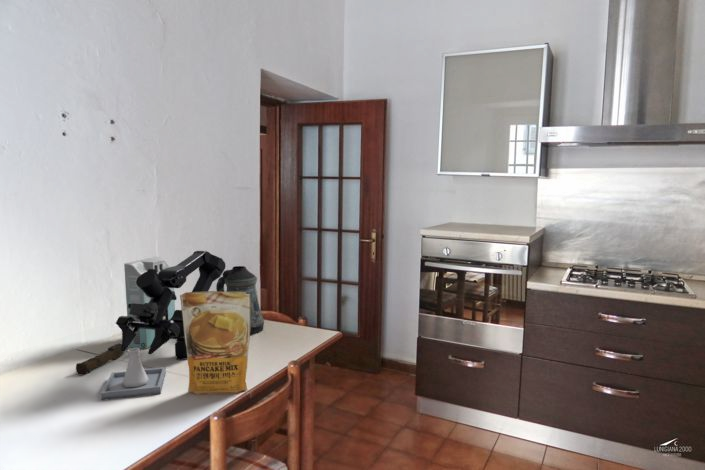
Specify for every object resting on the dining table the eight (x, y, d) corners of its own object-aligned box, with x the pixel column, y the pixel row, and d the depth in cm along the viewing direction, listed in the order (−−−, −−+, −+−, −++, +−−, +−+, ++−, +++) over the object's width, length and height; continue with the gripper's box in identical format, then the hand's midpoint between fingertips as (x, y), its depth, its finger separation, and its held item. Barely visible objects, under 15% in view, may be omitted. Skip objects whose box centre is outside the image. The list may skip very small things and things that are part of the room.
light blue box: (146, 349, 176) (142, 264, 173) (128, 347, 178) (123, 263, 175) (176, 335, 191) (173, 257, 188) (159, 333, 194) (155, 256, 190)
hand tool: (86, 376, 153) (85, 361, 152) (75, 375, 154) (74, 360, 153) (130, 355, 171) (129, 342, 170) (120, 354, 172) (119, 341, 171)
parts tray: (165, 373, 154) (165, 367, 153) (160, 393, 139) (160, 386, 139) (112, 379, 150) (111, 372, 150) (101, 400, 135) (100, 393, 135)
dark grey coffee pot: (259, 336, 189) (257, 271, 186) (208, 336, 189) (205, 271, 187) (267, 324, 206) (266, 263, 203) (220, 324, 206) (218, 263, 203)
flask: (120, 381, 146) (118, 347, 145) (147, 376, 149) (145, 343, 148) (122, 390, 140) (120, 355, 139) (150, 385, 143) (148, 351, 142)
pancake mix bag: (187, 385, 145) (183, 290, 142) (254, 384, 145) (251, 289, 142) (180, 395, 138) (175, 295, 135) (250, 394, 139) (247, 294, 136)
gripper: (117, 289, 150) (92, 337, 141) (172, 293, 145) (148, 342, 135) (137, 308, 158) (114, 354, 149) (189, 312, 153) (168, 360, 144)
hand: (135, 352), depth 144 cm, fingers open, 9 cm apart
